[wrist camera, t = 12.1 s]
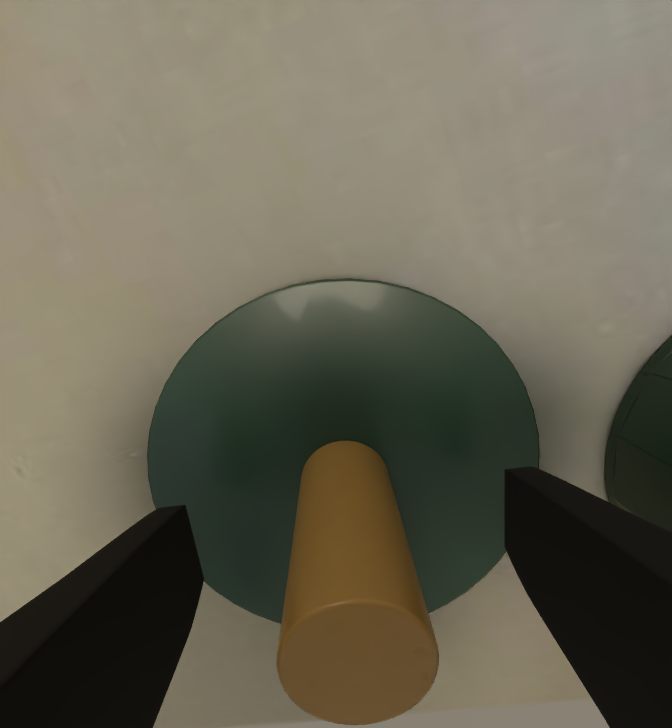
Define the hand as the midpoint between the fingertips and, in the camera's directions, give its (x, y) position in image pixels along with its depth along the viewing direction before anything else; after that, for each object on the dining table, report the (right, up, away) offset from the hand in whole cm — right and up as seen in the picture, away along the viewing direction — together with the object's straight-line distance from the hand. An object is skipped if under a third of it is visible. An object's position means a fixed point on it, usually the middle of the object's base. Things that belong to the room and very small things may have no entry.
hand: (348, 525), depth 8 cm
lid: (0, +1, +2) cm, 2 cm away
